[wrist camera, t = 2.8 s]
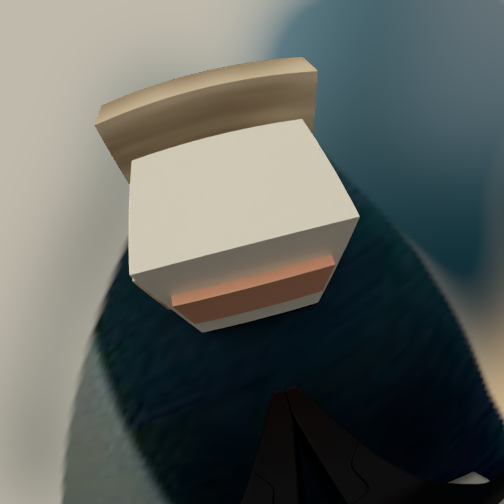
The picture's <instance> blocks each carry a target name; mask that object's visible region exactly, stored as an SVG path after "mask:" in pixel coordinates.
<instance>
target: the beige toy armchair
mask: <svg viewBox="0 0 504 504" xmlns="http://www.w3.org/2000/svg"><path fill="white" fill-rule="evenodd" d="M317 75H318V71H317V70H316V69H315V68H314V67H313V66H312V65H311V64H309V63H308V62H307V61H306V60H305V59H304V58H303V57H297V58H296V57H295V58H284V59H274V60H265V61H258V62H251V63H244V64H238V65H233V66H227V67H222V68H217V69H213V70H209V71H204V72H200V73H196V74H192V75H188V76H184V77H180V78H177V79H173V80H170V81H167V82H163V83H160V84H157V85H154V86H151V87H148V88H145V89H142V90H139V91H137V92H134V93H131V94H129V95H126V96H124V97H121V98H119V99H116V100H114V101H112V102H109V103H107V104H104V105H102V106H101V109H100V111H99V114H98V117H97V120H96V123H95V127H96V128H97V130H98V132H99V134H100V135H101V138H102V139H103V141H104V143H105V145H106V146H107V148H108V150H109V151H110V153H111V155H112V156H113V158H114V160H115V161H116V163H117V165H118V166H119V168H120V170H121V171H122V173H123V175H124V176H125V178H126V180H127V181H128V183H129V184H130V177H131V164H132V160H135V159H138V158H141V157H144V156H147V155H150V154H153V153H156V152H159V151H162V150H165V149H168V148H172V147H175V146H178V145H182V144H185V143H189V142H192V141H196V140H200V139H204V138H207V137H211V136H215V135H220V134H224V133H228V132H232V131H237V130H242V129H246V128H251V127H256V126H261V125H267V124H272V123H278V122H284V121H291V120H297V119H303V121H304V122H305V124H306V125H307V127H308V128H309V130H310V131H311V133H313V123H314V113H315V101H316V89H317ZM132 281H133V282H134V283H135V284H136V285H138V286H139V287H140V288H141V289H143V290H144V291H145V292H146V293H148V294H149V295H150V296H151V297H153V298H154V299H155V300H157V301H158V302H159V303H161V304H162V305H163V306H164V307H166V308H167V309H170V308H169V307H168V306H167V305H165V304H164V303H163V302H161V301H160V300H159V299H158V298H156V297H155V296H154V295H153V294H151V293H150V292H149V291H148V290H146V289H145V288H144V287H143V286H142V285H140V284H139V283H138V282H137V281H136V280H134V279H133V278H132Z"/></svg>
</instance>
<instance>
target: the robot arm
mask: <svg viewBox="0 0 504 504" xmlns="http://www.w3.org/2000/svg"><path fill="white" fill-rule="evenodd" d="M298 440H299V441H298ZM299 443H300V445H301V447H302V449H303V452H304V454H305V456H306V458H307V460H308V462H309V464H310V466H311V469H312V471H313V473H314V475H315V477H316V479H317V481H318V483H319V485H320V487H321V489H322V491H323V493H324V495H325V497H326V499H327V501H328V503H329V504H504V471H502V472H501V473H500V474H499V475H498V476H497V477H496V478H495V479H493V480H492V481H489V482H486V483H481V484H459V483H443V482H433V481H429V480H425V479H422V478H420V477H418V476H415V475H413V474H411V473H409V472H407V471H405V470H403V469H402V468H400V467H398V466H396V465H394V464H392V463H390V462H389V461H387V460H385V459H384V458H382V457H380V456H379V455H377V454H376V453H374V452H373V451H372V450H370V449H369V448H367V447H366V446H365V445H364V444H362V443H361V442H360V441H359V442H358V440H357V439H356V438H355V437H354V436H353V435H351V434H350V433H349V432H348V431H347V430H345V429H344V428H343V427H342V426H341V425H339V424H338V423H337V422H336V421H335V420H334V419H333V418H331V417H330V416H329V415H328V414H327V413H326V412H325V411H323V410H322V409H321V408H320V407H319V406H318V405H317V404H316V403H314V402H313V401H312V400H311V399H310V398H309V397H308V396H307V395H306V394H304V393H303V392H302V391H301V390H300V389H299V388H298V387H296V386H294V387H290V388H287V389H285V390H279V391H275V392H273V393H272V397H271V401H270V405H269V409H268V413H267V417H266V421H265V425H264V429H263V433H262V437H261V441H260V445H259V448H258V452H257V456H256V459H255V463H254V466H253V472H252V473H251V476H250V480H249V483H248V486H247V489H246V491H245V494H244V496H243V499H242V501H241V503H240V504H307V501H306V492H305V484H304V476H303V469H302V461H301V453H300V446H299Z"/></svg>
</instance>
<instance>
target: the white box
mask: <svg viewBox="0 0 504 504" xmlns="http://www.w3.org/2000/svg"><path fill="white" fill-rule="evenodd" d="M359 217H360V216H359V214H358V212H357V210H356V208H355V206H354V205H353V203H352V201H351V199H350V197H349V195H348V193H347V192H346V190H345V188H344V186H343V184H342V183H341V181H340V179H339V177H338V176H337V174H336V172H335V170H334V169H333V167H332V165H331V164H330V162H329V160H328V159H327V157H326V155H325V154H324V152H323V150H322V149H321V147H320V146H319V144H318V142H317V141H316V139H315V138H314V136H313V135H312V133H311V131H310V130H309V128H308V127H307V125H306V124H305V122H304V121H303V119H297V120H291V121H284V122H278V123H272V124H267V125H261V126H256V127H251V128H246V129H242V130H237V131H232V132H228V133H224V134H220V135H215V136H211V137H207V138H204V139H200V140H196V141H192V142H189V143H185V144H182V145H178V146H175V147H172V148H168V149H165V150H162V151H159V152H156V153H153V154H150V155H147V156H144V157H141V158H138V159H135V160H132V164H131V177H130V194H129V273H130V276H131V277H132V278H133V279H134V280H136V281H137V282H138V283H139V284H140V285H142V286H143V287H144V288H145V289H146V290H148V291H149V292H150V293H151V294H153V295H154V296H155V297H156V298H158V299H159V300H160V301H161V302H163V303H164V304H165V305H167V306H168V307H169V308H170V309H172V310H173V311H174V312H176V313H177V314H178V315H180V316H181V317H182V318H184V319H185V320H186V321H188V322H189V323H190V324H192V325H193V326H194V327H196V328H197V329H199V330H200V331H201V332H208V331H212V330H216V329H221V328H225V327H229V326H233V325H237V324H242V323H246V322H250V321H253V320H257V319H261V318H265V317H269V316H272V315H276V314H280V313H283V312H287V311H291V310H294V309H298V308H301V307H304V306H308V305H311V304H315V303H318V302H319V300H320V298H321V296H322V294H323V292H324V290H325V288H326V286H327V284H328V283H329V281H330V279H331V277H332V275H333V273H334V271H335V269H336V267H337V265H338V262H339V260H340V258H341V256H342V254H343V252H344V250H345V248H346V246H347V244H348V241H349V239H350V237H351V235H352V233H353V231H354V228H355V226H356V224H357V222H358V219H359Z"/></svg>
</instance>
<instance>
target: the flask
mask: <svg viewBox="0 0 504 504" xmlns="http://www.w3.org/2000/svg"><path fill="white" fill-rule="evenodd" d="M486 482H489V480H488V479H486V478H485V477H483V476H481V475H479V474H477V473H475V472H471V473H469V474H467V475H465V476H463V477H460V478H458V479H455V480H453V481H450V482H448V483H459V484H481V483H486Z"/></svg>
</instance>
